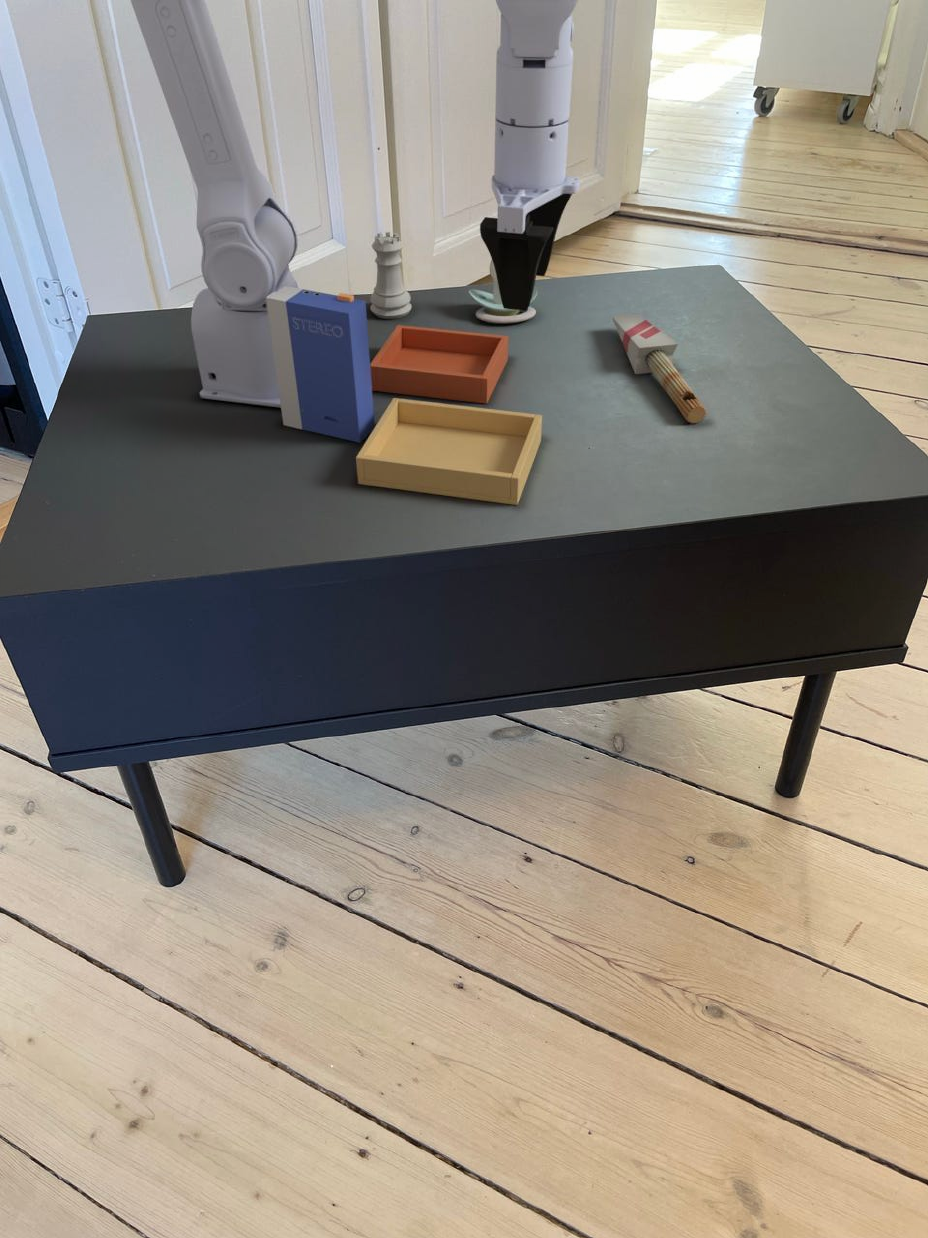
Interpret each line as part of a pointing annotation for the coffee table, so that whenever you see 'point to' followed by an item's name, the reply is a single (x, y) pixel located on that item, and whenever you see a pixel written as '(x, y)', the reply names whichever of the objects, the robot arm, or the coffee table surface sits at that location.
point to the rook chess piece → (389, 279)
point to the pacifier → (498, 304)
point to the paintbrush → (657, 361)
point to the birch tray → (451, 450)
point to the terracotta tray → (440, 363)
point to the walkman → (322, 362)
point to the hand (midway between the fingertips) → (525, 290)
